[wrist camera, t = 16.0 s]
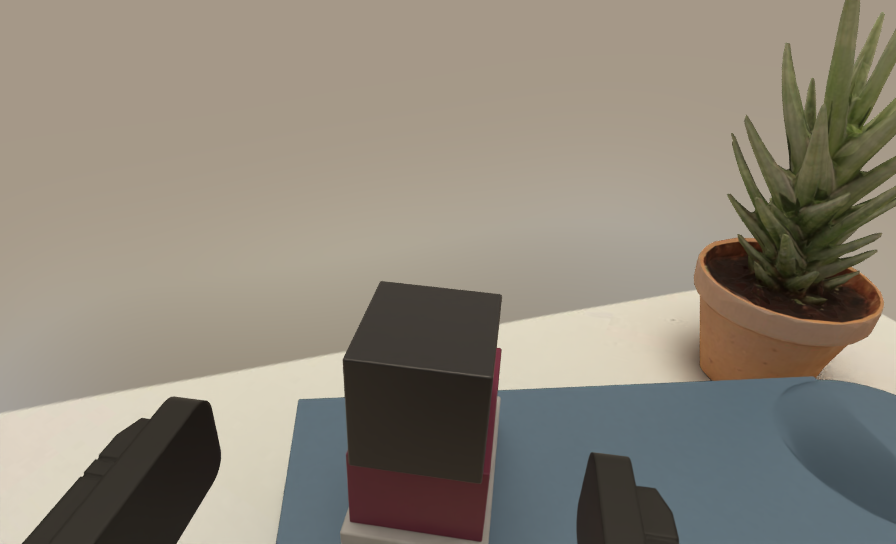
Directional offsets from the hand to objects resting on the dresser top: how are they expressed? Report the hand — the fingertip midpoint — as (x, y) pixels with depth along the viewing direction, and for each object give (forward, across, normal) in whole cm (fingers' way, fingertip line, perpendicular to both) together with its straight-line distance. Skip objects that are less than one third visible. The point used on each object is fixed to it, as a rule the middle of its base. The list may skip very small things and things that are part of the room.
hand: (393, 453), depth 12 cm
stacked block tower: (+7, 0, +8) cm, 11 cm away
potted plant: (+22, -18, +14) cm, 32 cm away
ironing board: (+9, -9, +13) cm, 18 cm away
